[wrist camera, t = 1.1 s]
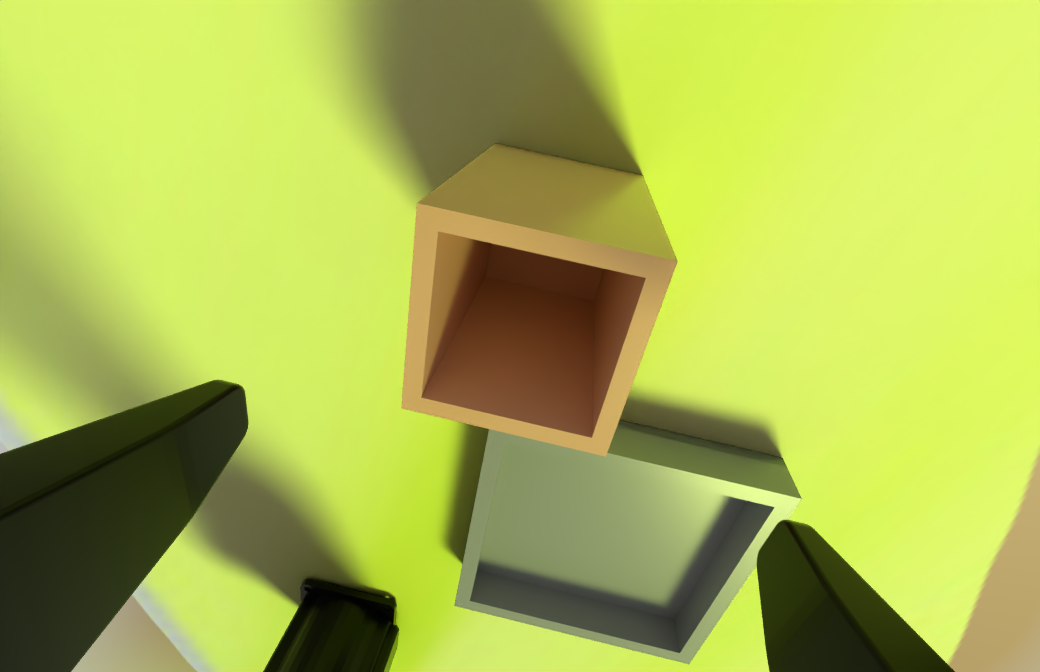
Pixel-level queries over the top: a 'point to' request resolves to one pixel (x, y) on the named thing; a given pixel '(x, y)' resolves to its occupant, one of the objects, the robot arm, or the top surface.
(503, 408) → the terracotta cup
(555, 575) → the tray
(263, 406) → the top surface
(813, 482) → the top surface
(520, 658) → the top surface
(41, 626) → the robot arm
